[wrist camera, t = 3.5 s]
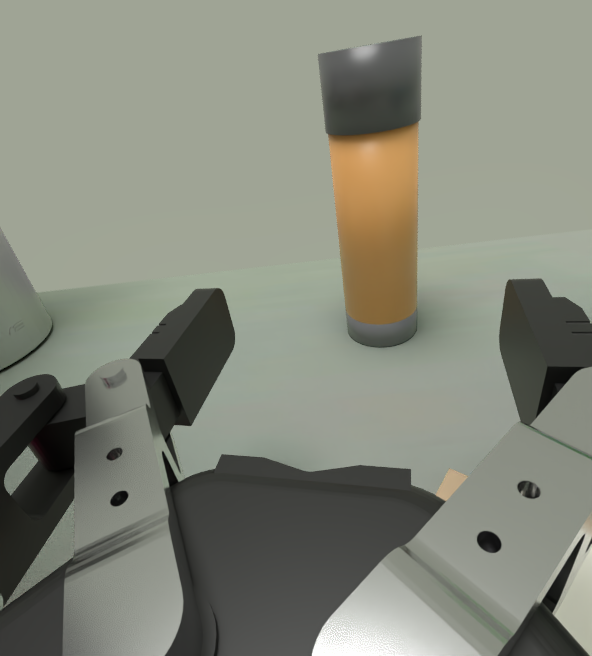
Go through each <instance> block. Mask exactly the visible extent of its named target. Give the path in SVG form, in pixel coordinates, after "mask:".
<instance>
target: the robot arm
mask: <svg viewBox="0 0 592 656" xmlns="http://www.w3.org/2000/svg"><path fill="white" fill-rule="evenodd" d="M51 327H52V320H51V318H50V316H49V315H48V313H47V311H46V309H45V307H44V306H43V304H42V302H41V300H40V298H39V297H38V295H37V293H36V291H35V290H34V288H33V286H32V284H31V282H30V280H29V279H28V277H27V275H26V273H25V271H24V269H23V268H22V266H21V264H20V262H19V260H18V258H17V257H16V255H15V253H14V251H13V249H12V248H11V246H10V244H9V242H8V240H7V239H6V237H5V235H4V233H3V231H2V230H1V228H0V370H1V369H3V368H5V367H7V366H9V365H11V364H12V363H14V362H16V361H17V360H19V359H21V358H22V357H24V356H25V355H26V354H28V353H29V352H31V351H32V350H33V349H35V348H36V347H37V346H38V345H39V344H40V343H41V342H42V341H43V340H44V339H45V338H46V336H47V335H48V334H49V332H50V330H51ZM499 343H500V351H501V355H502V359H503V362H504V365H505V369H506V372H507V376H508V379H509V382H510V386H511V389H512V393H513V396H514V399H515V403H516V406H517V410H518V413H519V416H520V420H521V422H518V423H516V424H515V425H514V426H513V427H512V428H511V429H510V430H509V432H508V433H507V434H506V435H505V436H504V437H503V438H502V439H501V440H500V442H499V443H498V444H497V445H496V446H495V447H494V448H493V449H492V451H491V452H490V453H489V454H488V455H487V456H486V457H485V458H484V460H483V461H482V462H481V463H480V464H479V465H478V466H477V467H476V468H475V470H474V471H473V472H472V473H471V474H470V475H469V476H468V477H467V479H466V480H465V481H464V482H463V483H462V484H461V485H460V486H459V488H458V489H457V490H456V491H455V492H454V493H453V494H452V495H451V496H450V498H449V499H448V500H447V501H445V500H443V499H441V498H440V497H438V496H436V495H434V494H433V493H430V492H428V491H426V490H424V489H421V488H418V487H415V486H412V485H411V469H400V468H388V467H375V466H362V465H359V466H351V467H344V468H337V469H329V470H322V471H315V472H306V471H302V470H299V469H296V468H293V467H290V466H287V465H284V464H281V463H278V462H275V461H272V460H269V459H267V458H262V457H249V456H236V455H224V454H222V455H221V457H220V459H219V462H218V464H217V466H216V469H213V470H208V471H204V472H200V473H198V474H195V475H192V476H190V477H187V478H185V477H184V473H183V470H182V466H181V463H180V459H179V455H178V452H177V448H176V445H175V441H174V438H173V436H172V434H171V429H172V428H173V426H174V425H184V426H191V425H192V423H193V422H194V420H195V418H196V416H197V414H198V412H199V411H200V409H201V407H202V405H203V403H204V401H205V400H206V398H207V396H208V394H209V392H210V391H211V389H212V387H213V385H214V383H215V381H216V380H217V378H218V376H219V374H220V372H221V370H222V369H223V367H224V365H225V363H226V361H227V360H228V358H229V356H230V354H231V352H232V350H233V348H234V344H235V332H234V328H233V324H232V320H231V317H230V313H229V310H228V306H227V303H226V299H225V296H224V293H223V291H222V290H221V289H219V288H211V289H196V290H194V291H193V292H192V294H191V295H190V296H189V297H188V299H187V300H186V301H185V302H184V303H183V305H180V306H178V307H177V308H175V309H174V310H172V311H171V312H170V313H168V314H167V315H166V316H165V317H164V319H163V320H162V321H161V322H160V323H159V326H157V327H156V328H155V329H154V330H153V332H152V334H150V335H149V336H148V337H147V339H146V340H145V341H144V342H143V343H142V344H141V346H140V347H139V348H138V349H137V350H136V352H135V353H134V354H133V355H132V356H131V357H130V359H120V360H116V361H112V362H110V363H107V364H105V365H103V366H101V367H100V368H98V369H97V370H95V371H94V372H93V373H92V374H91V375H90V376H89V377H88V379H87V380H86V383H85V384H83V385H78V386H74V387H69V388H64V389H62V388H61V386H60V384H59V383H58V381H57V379H56V378H55V377H54V376H52V375H49V374H43V375H36V376H33V377H30V378H27V379H25V380H23V381H21V382H19V383H17V384H15V385H14V386H12V387H11V388H9V389H8V390H7V391H6V392H5V393H4V394H3V395H2V396H0V656H590V655H589V654H588V653H587V652H586V651H585V650H584V649H583V647H582V646H581V645H580V644H579V643H578V642H577V641H576V640H575V638H574V637H573V636H572V635H571V634H570V633H569V632H568V630H567V629H566V628H565V627H564V626H563V625H562V624H561V623H560V621H559V620H558V619H557V618H556V617H555V614H556V612H557V610H558V609H559V607H560V605H561V603H562V602H563V600H564V598H565V596H566V594H567V592H568V590H569V589H570V587H571V585H572V583H573V581H574V579H575V577H576V575H577V573H578V571H579V569H580V567H581V565H582V564H583V562H584V560H585V558H586V557H587V555H588V553H589V552H590V550H591V548H592V324H590V320H589V319H588V317H587V316H586V314H585V313H584V311H583V309H582V308H581V307H579V306H578V305H576V304H575V303H573V302H572V301H570V300H568V299H567V298H565V297H553V298H552V296H551V294H550V292H549V290H548V289H547V287H546V285H545V283H544V281H543V280H542V279H512V280H508V282H507V284H506V289H505V296H504V303H503V310H502V318H501V325H500V334H499ZM27 446H28V447H29V448H30V449H31V451H32V452H33V454H34V455H35V456H36V458H37V459H38V460H39V461H38V462H37V464H36V465H35V466H34V467H33V469H32V470H31V471H30V472H29V474H28V475H27V476H26V477H25V479H24V480H23V481H22V482H21V484H20V485H19V486H18V487H17V489H16V490H15V491H14V492H13V494H12V495H11V496H10V494H9V493H8V492H7V491H6V489H5V486H4V478H5V474H6V472H7V470H8V468H9V467H10V466H11V465H12V464H13V462H14V461H15V460H16V459H17V458H18V456H19V455H20V454H21V453H22V452H23V451H24V449H25V448H26V447H27ZM73 500H74V557H73V558H72V559H70V560H69V561H68V562H66V563H65V564H64V565H62V566H61V567H59V568H58V569H57V570H55V571H54V572H53V573H51V574H50V575H48V576H47V577H46V578H44V579H43V580H42V581H40V582H39V583H37V584H36V585H35V586H33V587H32V588H31V589H29V590H28V591H27V592H25V593H24V594H22V595H21V596H20V597H18V598H17V599H16V600H14V601H13V602H11V603H10V604H9V605H7V606H6V607H5V608H3V607H4V605H5V604H6V602H7V601H8V599H9V598H10V596H11V595H12V593H13V592H14V590H15V588H16V587H17V585H18V584H19V582H20V581H21V579H22V578H23V576H24V575H25V573H26V572H27V570H28V569H29V567H30V565H31V564H32V562H33V561H34V559H35V558H36V556H37V555H38V553H39V552H40V550H41V549H42V547H43V546H44V544H45V542H46V541H47V539H48V538H49V536H50V535H51V533H52V532H53V530H54V529H55V527H56V526H57V524H58V523H59V521H60V519H61V518H62V516H63V515H64V513H65V512H66V510H67V509H68V507H69V506H70V504H71V503H72V501H73Z"/></svg>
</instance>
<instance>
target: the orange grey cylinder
mask: <svg viewBox="0 0 592 656" xmlns="http://www.w3.org/2000/svg"><path fill="white" fill-rule="evenodd" d="M421 47H422V36H416V37H411V38H405V39H398V40H393V41H387V42H381V43H376V44H370V45H365V46H359V47H354V48H348V49H342V50H338V51H332V52H326V53H321V54H318V61H319V70H320V80H321V90H322V100H323V110H324V118H325V129H326V133H327V134H328V137H329V146H330V155H331V156H330V157H331V166H332V177H333V187H334V197H335V207H336V216H337V227H338V235H339V236H338V237H339V247H340V256H341V267H342V277H343V287H344V297H345V306H346V316H347V326H348V333H349V335H350V336H351V338H352V339H354V340H355V341H357V342H358V343H361V344H363V345H367V346H372V347H389V346H394V345H398V344H401V343H403V342H405V341H407V340H409V339H410V338H411V337H412V336H413V335H414V334H415V332H416V329H417V233H418V232H417V230H418V228H417V226H418V218H417V217H418V121H419V120H420V119H421V54H422V51H421V50H422V49H421Z"/></svg>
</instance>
